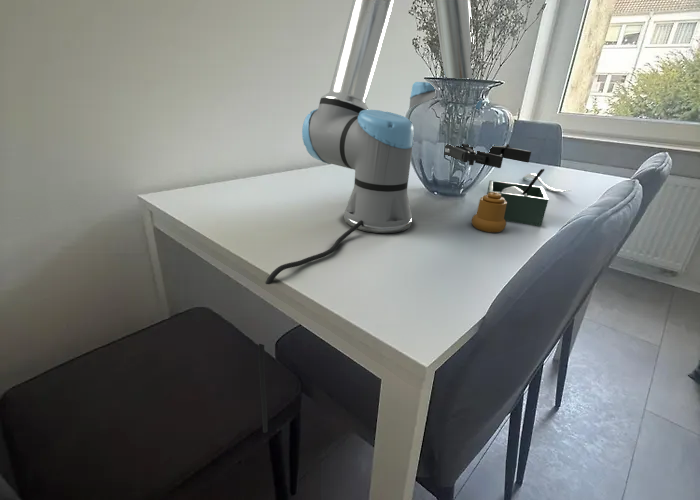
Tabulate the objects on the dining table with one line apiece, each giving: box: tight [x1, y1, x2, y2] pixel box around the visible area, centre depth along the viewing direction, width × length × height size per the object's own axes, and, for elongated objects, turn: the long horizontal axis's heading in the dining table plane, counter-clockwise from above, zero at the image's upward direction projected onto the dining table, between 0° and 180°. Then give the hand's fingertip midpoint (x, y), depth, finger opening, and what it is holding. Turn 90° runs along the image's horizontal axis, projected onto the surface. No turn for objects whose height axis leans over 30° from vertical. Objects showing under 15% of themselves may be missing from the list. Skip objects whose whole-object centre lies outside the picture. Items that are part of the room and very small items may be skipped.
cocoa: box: [502, 168, 545, 196], centre depth 96 cm, size 10×6×12 cm, turn 23°
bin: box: [486, 179, 549, 227], centre depth 98 cm, size 12×13×7 cm
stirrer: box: [522, 173, 573, 193], centre depth 126 cm, size 20×4×5 cm
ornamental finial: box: [471, 192, 507, 234], centre depth 88 cm, size 8×8×8 cm
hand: (516, 159), depth 94 cm, fingers open, 13 cm apart
